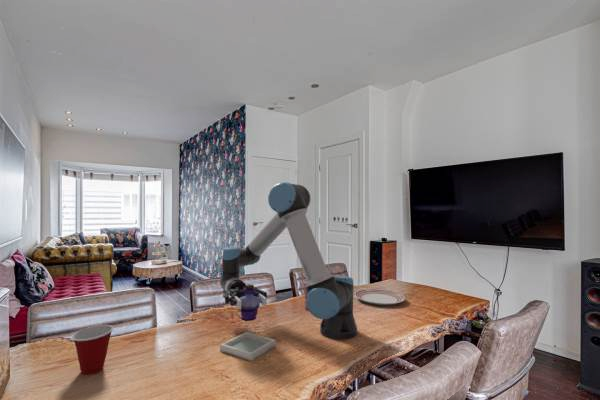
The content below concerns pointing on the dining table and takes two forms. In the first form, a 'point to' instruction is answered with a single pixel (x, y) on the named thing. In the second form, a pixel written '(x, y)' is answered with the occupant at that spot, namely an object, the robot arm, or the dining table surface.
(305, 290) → the mug
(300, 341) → the dining table surface
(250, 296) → the potion bottle
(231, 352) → the dish
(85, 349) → the plastic cup
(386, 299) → the dinner plate
